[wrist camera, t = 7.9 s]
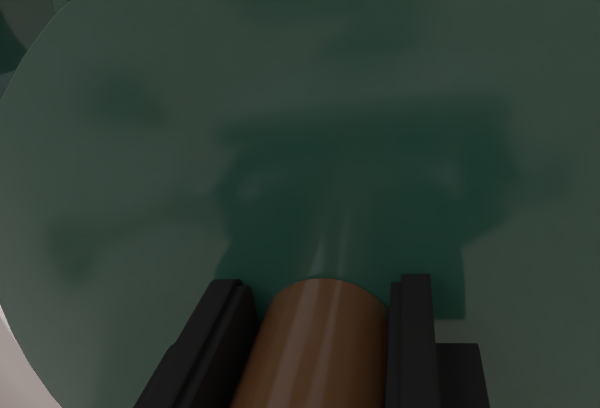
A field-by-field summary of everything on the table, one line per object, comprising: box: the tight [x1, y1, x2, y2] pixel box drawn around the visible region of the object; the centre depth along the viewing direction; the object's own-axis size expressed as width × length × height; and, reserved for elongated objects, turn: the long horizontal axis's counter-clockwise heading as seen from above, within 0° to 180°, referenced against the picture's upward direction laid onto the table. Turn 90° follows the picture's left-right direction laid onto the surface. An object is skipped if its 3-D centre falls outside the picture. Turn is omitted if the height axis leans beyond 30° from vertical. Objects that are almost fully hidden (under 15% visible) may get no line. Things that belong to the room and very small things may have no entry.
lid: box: [0, 0, 600, 408], centre depth 9 cm, size 16×16×6 cm
